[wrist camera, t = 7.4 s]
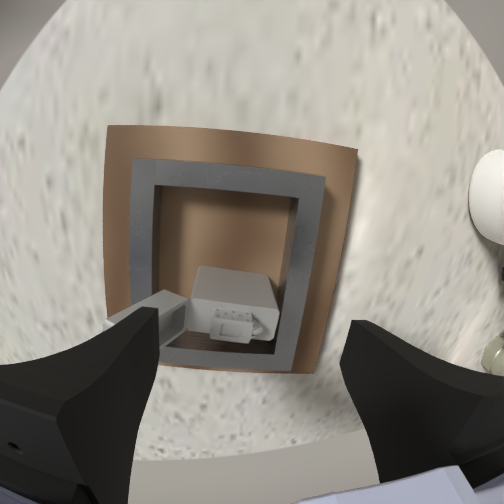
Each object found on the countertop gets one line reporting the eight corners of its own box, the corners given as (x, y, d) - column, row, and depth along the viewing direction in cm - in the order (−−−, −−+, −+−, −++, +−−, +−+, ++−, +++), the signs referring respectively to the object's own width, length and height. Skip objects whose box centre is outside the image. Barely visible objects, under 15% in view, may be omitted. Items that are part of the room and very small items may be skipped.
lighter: (269, 275, 19) (294, 357, 11) (264, 302, 19) (283, 392, 11) (148, 257, 18) (97, 328, 10) (146, 284, 18) (100, 365, 11)
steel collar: (142, 341, 19) (135, 358, 18) (143, 158, 16) (132, 158, 14) (285, 352, 20) (290, 370, 18) (315, 174, 17) (325, 176, 15)
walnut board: (116, 350, 21) (112, 358, 20) (113, 126, 16) (107, 125, 15) (310, 365, 22) (313, 373, 21) (351, 149, 18) (358, 149, 17)
